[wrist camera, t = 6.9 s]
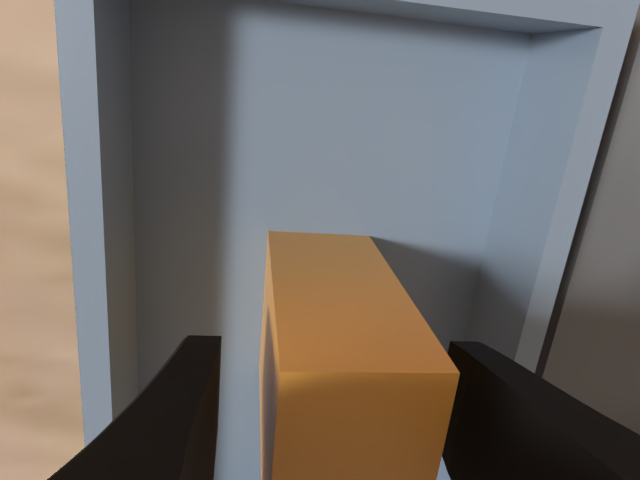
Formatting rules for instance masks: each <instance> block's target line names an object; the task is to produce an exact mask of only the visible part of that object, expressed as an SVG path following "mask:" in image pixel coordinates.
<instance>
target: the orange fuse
mask: <svg viewBox="0 0 640 480" xmlns="http://www.w3.org/2000/svg"><path fill="white" fill-rule="evenodd" d="M459 376H460V372H459V371H458V369H457V368H456V366H455V365H454V363H453V362H452V360H451V359H450V357H449V356H448V354H447V353H446V351H445V349H444V348H443V346H442V345H441V343H440V342H439V340H438V339H437V337H436V336H435V334H434V333H433V331H432V330H431V328H430V327H429V325H428V324H427V322H426V321H425V319H424V318H423V316H422V315H421V313H420V312H419V310H418V309H417V307H416V306H415V304H414V303H413V301H412V300H411V298H410V297H409V295H408V294H407V292H406V291H405V289H404V288H403V286H402V285H401V283H400V281H399V280H398V278H397V277H396V275H395V274H394V272H393V271H392V269H391V268H390V266H389V265H388V263H387V262H386V260H385V259H384V257H383V256H382V254H381V253H380V251H379V250H378V248H377V247H376V245H375V244H374V242H373V241H372V239H371V238H370V236H362V235H342V234H322V233H303V232H283V231H268V238H267V254H266V269H265V285H264V300H263V316H262V331H261V347H260V362H259V386H260V438H261V480H437V475H438V471H439V466H440V462H441V457H442V453H443V448H444V444H445V439H446V435H447V430H448V426H449V421H450V417H451V412H452V408H453V403H454V399H455V394H456V390H457V385H458V381H459Z"/></svg>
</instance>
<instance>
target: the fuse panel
mask: <svg viewBox="0 0 640 480" xmlns="http://www.w3.org/2000/svg"><path fill="white" fill-rule="evenodd" d="M535 374H536V375H538V376H540V377H541V378H543V379H544V380H546V381H548V382H549V383H551V384H553V385H554V386H556V387H557V388H559V389H561V390H562V391H564V392H566V393H567V394H569V395H571V396H572V397H574V398H576V399H577V400H579V401H581V402H582V403H584V404H586V405H588V406H589V407H591V408H593V409H594V410H596V411H598V412H600V413H601V414H603V415H605V416H607V417H608V418H610V419H612V420H614V421H616V422H618V423H619V424H621V425H623V426H625V427H627V428H628V429H630V430H632V431H634V432H636V433H637V434H639V435H640V4H639V7H638V11H637V14H636V18H635V21H634V25H633V28H632V32H631V35H630V39H629V42H628V46H627V49H626V53H625V57H624V60H623V64H622V67H621V71H620V74H619V78H618V81H617V85H616V88H615V92H614V95H613V99H612V102H611V106H610V109H609V113H608V116H607V120H606V123H605V127H604V131H603V134H602V138H601V141H600V145H599V148H598V152H597V155H596V159H595V162H594V166H593V169H592V173H591V176H590V180H589V183H588V187H587V190H586V194H585V197H584V201H583V204H582V208H581V212H580V215H579V219H578V222H577V226H576V229H575V233H574V236H573V240H572V243H571V247H570V250H569V254H568V257H567V261H566V264H565V268H564V271H563V275H562V278H561V282H560V285H559V289H558V293H557V296H556V300H555V303H554V307H553V310H552V314H551V317H550V321H549V324H548V328H547V331H546V335H545V338H544V342H543V345H542V349H541V352H540V356H539V359H538V363H537V367H536V370H535Z"/></svg>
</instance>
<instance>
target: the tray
mask: <svg viewBox="0 0 640 480" xmlns="http://www.w3.org/2000/svg"><path fill="white" fill-rule="evenodd" d="M639 4H640V0H54V7H55V21H56V36H57V50H58V65H59V79H60V94H61V108H62V122H63V137H64V151H65V166H66V180H67V195H68V209H69V224H70V238H71V253H72V267H73V282H74V296H75V311H76V325H77V340H78V354H79V369H80V383H81V397H82V412H83V426H84V441H85V447H86V446H87V445H88V444H89V443H90V442H91V441H92V440H94V439H95V438H96V437H97V436H98V435H99V434H100V433H101V432H102V431H103V430H104V429H105V428H106V427H107V426H108V425H109V424H110V423H111V422H112V421H113V420H114V419H115V418H116V417H117V416H118V415H119V414H120V413H121V412H122V411H123V410H124V409H125V408H126V407H127V406H128V405H129V404H130V403H131V402H132V401H133V400H134V399H135V397H136V396H137V395H138V394H139V393H140V392H141V391H142V390H143V388H144V387H145V386H146V385H147V384H148V383H149V382H150V381H151V379H152V378H153V377H154V376H155V375H156V374H157V372H158V371H159V370H160V369H161V368H162V366H163V365H164V364H165V363H166V361H167V360H168V359H169V358H170V356H171V355H172V354H173V352H174V351H175V350H176V348H177V347H178V346H179V344H180V343H181V341H182V340H183V339H184V338H186V337H187V336H188V335H201V336H222V339H221V364H220V390H219V415H218V433H217V445H216V457H215V469H214V479H213V480H261V438H260V386H259V362H260V347H261V331H262V316H263V300H264V285H265V269H266V254H267V238H268V231H283V232H303V233H322V234H342V235H362V236H370V238H371V239H372V241H373V242H374V244H375V245H376V247H377V248H378V250H379V251H380V253H381V254H382V256H383V257H384V259H385V260H386V262H387V263H388V265H389V266H390V268H391V269H392V271H393V272H394V274H395V275H396V277H397V278H398V280H399V281H400V283H401V285H402V286H403V288H404V289H405V291H406V292H407V294H408V295H409V297H410V298H411V300H412V301H413V303H414V304H415V306H416V307H417V309H418V310H419V312H420V313H421V315H422V316H423V318H424V319H425V321H426V322H427V324H428V325H429V327H430V328H431V330H432V331H433V333H434V334H435V336H436V337H437V339H438V340H439V342H440V343H441V345H442V346H443V348H444V349H445V351H446V353H448V349H449V344H450V341H472V342H481V343H483V344H485V345H487V346H489V347H491V348H493V349H494V350H496V351H498V352H500V353H502V354H503V355H505V356H507V357H508V358H510V359H512V360H513V361H515V362H517V363H518V364H520V365H522V366H523V367H525V368H527V369H528V370H530V371H531V372H533V373H535V370H536V367H537V363H538V359H539V356H540V352H541V349H542V345H543V342H544V338H545V335H546V331H547V328H548V324H549V321H550V317H551V314H552V310H553V307H554V303H555V300H556V296H557V293H558V289H559V285H560V282H561V278H562V275H563V271H564V268H565V264H566V261H567V257H568V254H569V250H570V247H571V243H572V240H573V236H574V233H575V229H576V226H577V222H578V219H579V215H580V212H581V208H582V204H583V201H584V197H585V194H586V190H587V187H588V183H589V180H590V176H591V173H592V169H593V166H594V162H595V159H596V155H597V152H598V148H599V145H600V141H601V138H602V134H603V131H604V127H605V123H606V120H607V116H608V113H609V109H610V106H611V102H612V99H613V95H614V92H615V88H616V85H617V81H618V78H619V74H620V71H621V67H622V64H623V60H624V57H625V53H626V49H627V46H628V42H629V39H630V35H631V32H632V28H633V25H634V21H635V18H636V14H637V11H638V7H639ZM437 480H451V479H450V477H449V474H448V472H447V469H446V466H445V463H444V460H443V457H441V462H440V466H439V471H438V475H437Z"/></svg>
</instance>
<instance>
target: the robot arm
mask: <svg viewBox="0 0 640 480" xmlns="http://www.w3.org/2000/svg"><path fill="white" fill-rule="evenodd" d="M221 339H222V336H201V335H188V336H187V337H186V338H184V339H183V340H182V341H181V343H180V344H179V346H178V347H177V348H176V350H175V351H174V352H173V354H172V355H171V356H170V358H169V359H168V360H167V361H166V363H165V364H164V365H163V366H162V368H161V369H160V370H159V371H158V372H157V374H156V375H155V376H154V377H153V378H152V379H151V381H150V382H149V383H148V384H147V385H146V386H145V387H144V388H143V390H142V391H141V392H140V393H139V394H138V395H137V396H136V397H135V399H134V400H133V401H132V402H131V403H130V404H129V405H128V406H127V407H126V408H125V409H124V410H123V411H122V412H121V413H120V414H119V415H118V416H117V417H116V418H115V419H114V420H113V421H112V422H111V423H110V424H109V425H108V426H107V427H106V428H105V429H104V430H103V431H102V432H101V433H100V434H99V435H98V436H97V437H96V438H95V439H94V440H92V441H91V442H90V443H89V444H88V445H87V446H86V447H85V448H84V449H83V450H81V451H80V452H79V453H78V454H77V455H76V456H75V457H73V458H72V459H71V460H70V461H69V462H68V463H67V464H65V465H64V466H63V467H62V468H61V469H59V470H58V471H57V472H56V473H54V474H53V475H52V476H51V477H50V478H48V479H47V480H213V479H214V469H215V457H216V445H217V433H218V415H219V390H220V364H221ZM447 354H448V356H449V357H450V359H451V360H452V362H453V363H454V365H455V366H456V368H457V369H458V371H459V372H460V376H459V381H458V385H457V390H456V394H455V399H454V403H453V408H452V412H451V417H450V421H449V426H448V430H447V435H446V439H445V444H444V448H443V453H442V457H443V460H444V463H445V466H446V469H447V472H448V474H449V477H450V479H451V480H640V435H639V434H637V433H636V432H634V431H632V430H630V429H628V428H627V427H625V426H623V425H621V424H619V423H618V422H616V421H614V420H612V419H610V418H608V417H607V416H605V415H603V414H601V413H600V412H598V411H596V410H594V409H593V408H591V407H589V406H588V405H586V404H584V403H582V402H581V401H579V400H577V399H576V398H574V397H572V396H571V395H569V394H567V393H566V392H564V391H562V390H561V389H559V388H557V387H556V386H554V385H553V384H551V383H549V382H548V381H546V380H544V379H543V378H541V377H540V376H538V375H536V374H535V373H533V372H531V371H530V370H528V369H527V368H525V367H523V366H522V365H520V364H518V363H517V362H515V361H513V360H512V359H510V358H508V357H507V356H505V355H503V354H502V353H500V352H498V351H496V350H494V349H493V348H491V347H489V346H487V345H485V344H483V343H481V342H472V341H450V344H449V349H448V353H447Z"/></svg>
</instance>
